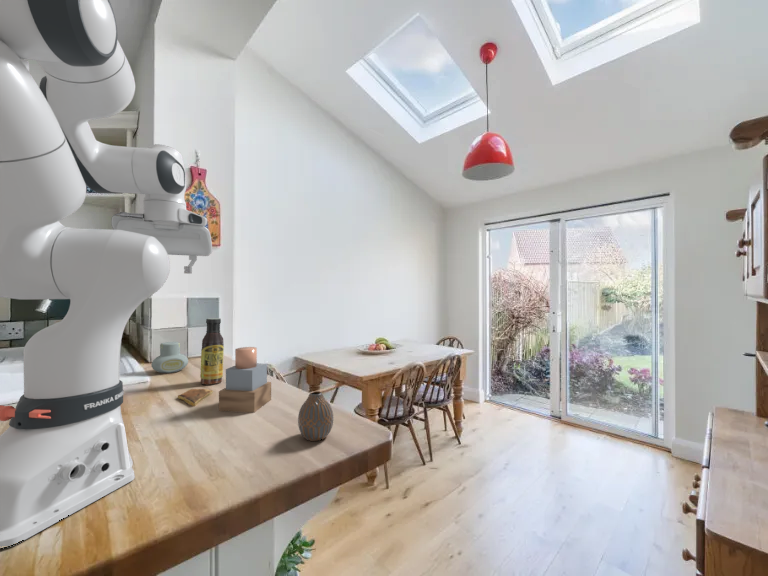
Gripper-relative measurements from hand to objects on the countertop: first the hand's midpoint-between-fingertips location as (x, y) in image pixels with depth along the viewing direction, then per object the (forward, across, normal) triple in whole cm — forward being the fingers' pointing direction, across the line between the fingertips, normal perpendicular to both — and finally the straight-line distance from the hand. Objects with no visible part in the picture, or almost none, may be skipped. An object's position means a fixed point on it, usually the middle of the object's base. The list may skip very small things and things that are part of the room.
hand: (166, 273), depth 84 cm
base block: (+33, +16, -10) cm, 38 cm away
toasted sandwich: (+34, +8, +4) cm, 35 cm away
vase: (+33, +20, -38) cm, 54 cm away
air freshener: (+33, +6, +42) cm, 54 cm away
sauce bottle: (+33, +14, +17) cm, 40 cm away
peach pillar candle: (+24, +16, -10) cm, 30 cm away
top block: (+28, +16, -10) cm, 34 cm away
